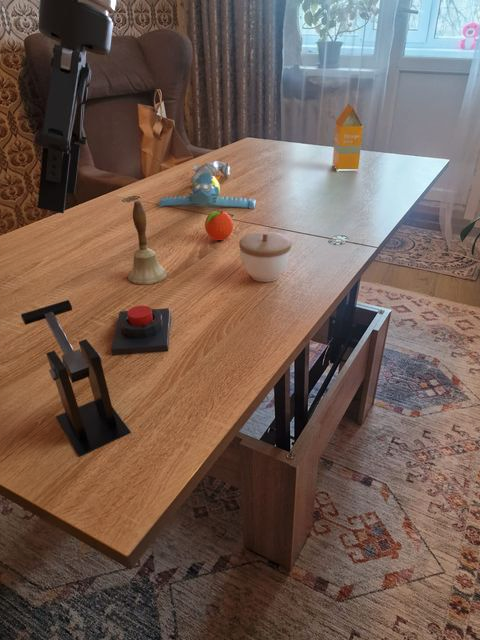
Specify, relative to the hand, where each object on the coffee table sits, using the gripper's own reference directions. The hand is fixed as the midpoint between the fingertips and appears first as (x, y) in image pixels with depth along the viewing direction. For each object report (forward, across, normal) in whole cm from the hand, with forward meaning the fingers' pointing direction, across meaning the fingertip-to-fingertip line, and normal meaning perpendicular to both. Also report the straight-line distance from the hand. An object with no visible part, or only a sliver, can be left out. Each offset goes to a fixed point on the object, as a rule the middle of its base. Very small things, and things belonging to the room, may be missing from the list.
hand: (58, 200), depth 60 cm
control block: (+22, +11, -15) cm, 29 cm away
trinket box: (+12, +29, -39) cm, 50 cm away
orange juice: (-14, +103, -82) cm, 132 cm away
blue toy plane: (+7, +76, -32) cm, 83 cm away
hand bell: (+18, +35, -16) cm, 43 cm away
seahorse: (+2, +100, -36) cm, 106 cm away
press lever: (+16, -7, -3) cm, 18 cm away
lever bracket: (+28, -10, -8) cm, 30 cm away
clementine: (+11, +51, -32) cm, 61 cm away
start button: (+19, +11, -14) cm, 26 cm away
